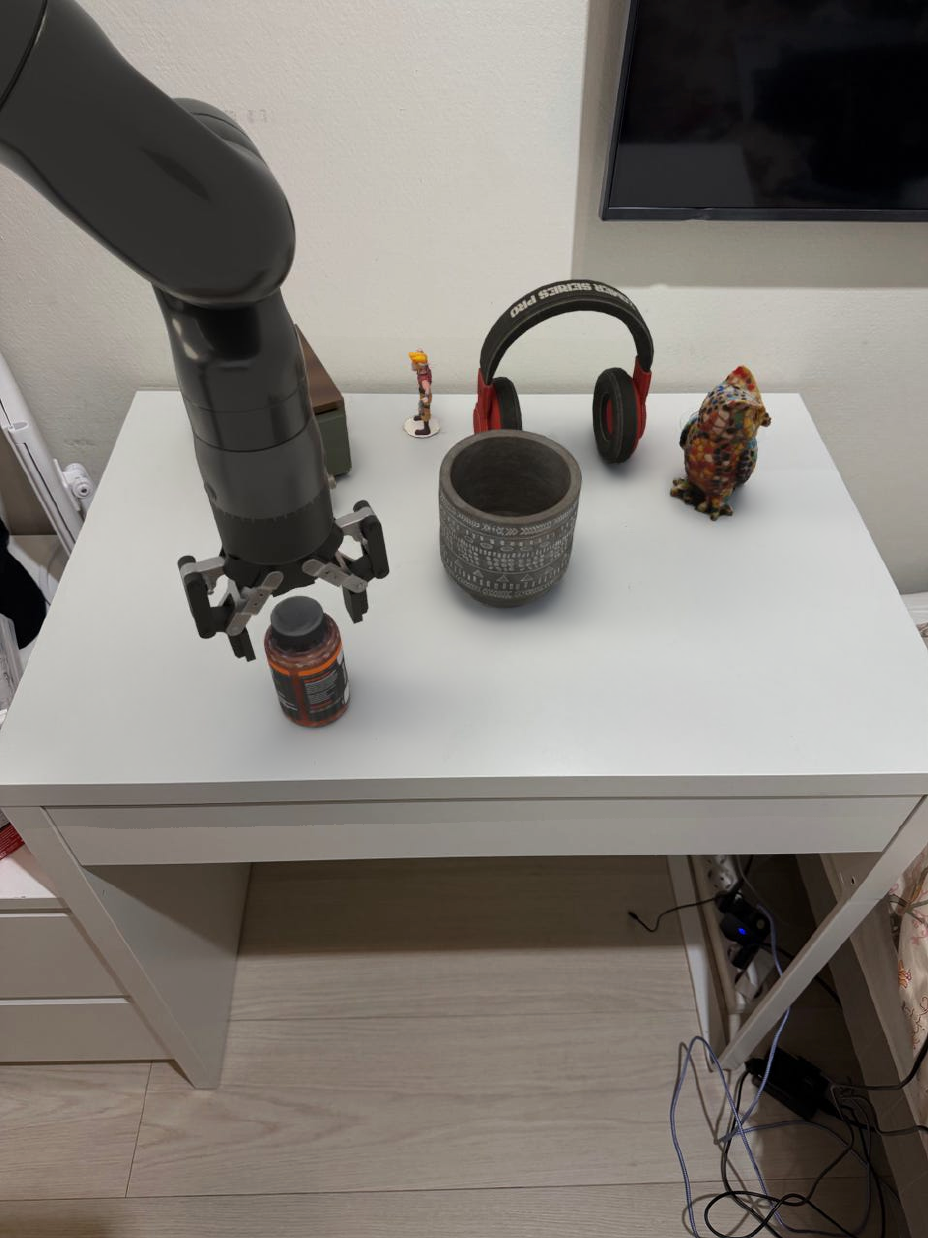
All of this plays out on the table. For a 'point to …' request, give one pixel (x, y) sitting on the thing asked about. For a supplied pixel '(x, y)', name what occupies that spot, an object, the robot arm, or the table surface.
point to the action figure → (422, 398)
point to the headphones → (615, 389)
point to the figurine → (721, 444)
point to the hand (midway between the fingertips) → (301, 633)
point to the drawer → (334, 443)
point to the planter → (507, 515)
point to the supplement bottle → (306, 662)
